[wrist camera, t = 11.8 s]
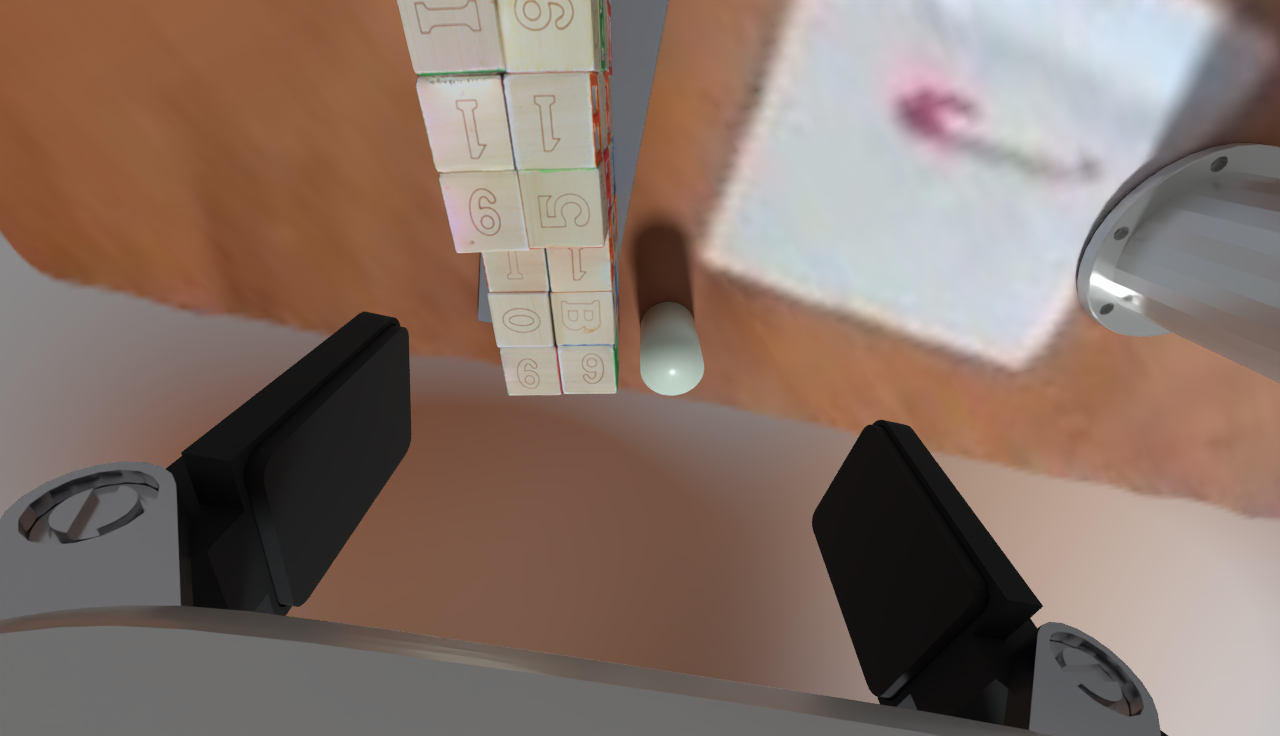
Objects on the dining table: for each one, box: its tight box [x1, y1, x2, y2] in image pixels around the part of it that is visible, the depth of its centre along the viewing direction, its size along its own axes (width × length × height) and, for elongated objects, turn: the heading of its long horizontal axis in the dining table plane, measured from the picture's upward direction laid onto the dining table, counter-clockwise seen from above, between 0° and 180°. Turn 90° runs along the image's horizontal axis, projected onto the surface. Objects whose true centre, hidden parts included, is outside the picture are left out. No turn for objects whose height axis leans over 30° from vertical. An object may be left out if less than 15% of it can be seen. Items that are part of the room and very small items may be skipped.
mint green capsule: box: [640, 302, 704, 395], centre depth 33 cm, size 4×4×6 cm
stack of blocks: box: [397, 0, 620, 395], centre depth 24 cm, size 21×6×12 cm, turn 1°
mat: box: [478, 0, 669, 323], centre depth 29 cm, size 9×24×1 cm, turn 168°
